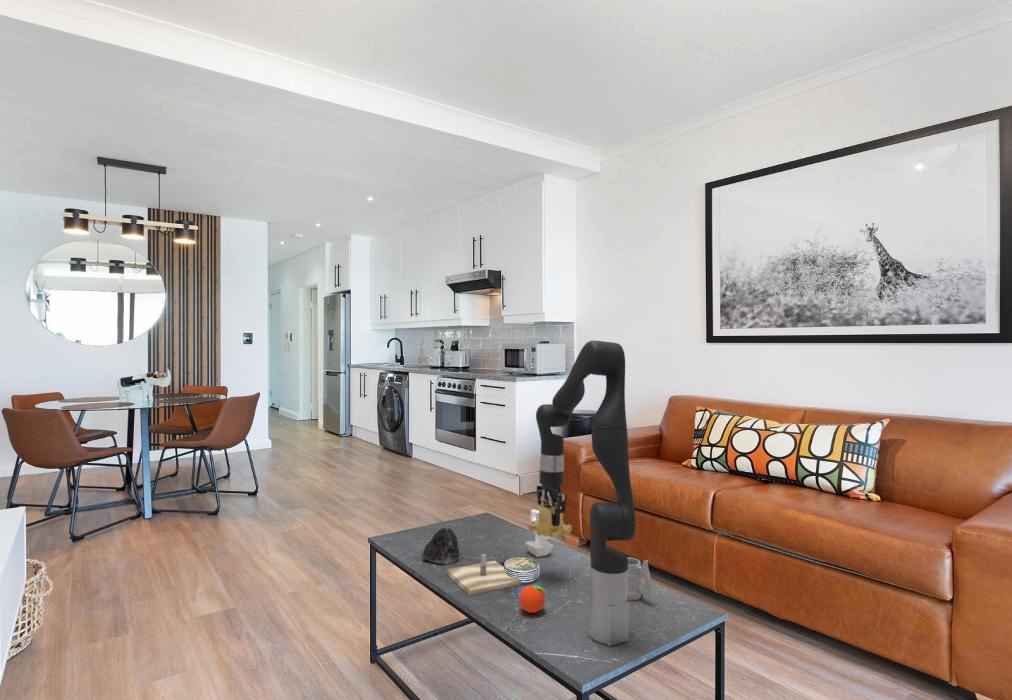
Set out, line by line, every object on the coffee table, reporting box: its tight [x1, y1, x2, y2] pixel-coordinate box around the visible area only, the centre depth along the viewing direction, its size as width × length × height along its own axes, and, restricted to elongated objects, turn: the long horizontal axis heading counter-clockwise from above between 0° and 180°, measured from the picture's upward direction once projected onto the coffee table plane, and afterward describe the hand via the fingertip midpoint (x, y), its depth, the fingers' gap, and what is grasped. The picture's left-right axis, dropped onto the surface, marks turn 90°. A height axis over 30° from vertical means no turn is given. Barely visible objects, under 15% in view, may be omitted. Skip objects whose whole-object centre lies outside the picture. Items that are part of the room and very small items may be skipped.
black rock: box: [422, 527, 460, 565], centre depth 192 cm, size 13×14×10 cm
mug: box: [626, 556, 653, 601], centre depth 165 cm, size 8×12×12 cm, turn 37°
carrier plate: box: [446, 553, 522, 596], centre depth 175 cm, size 17×17×8 cm
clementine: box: [519, 584, 549, 614], centre depth 155 cm, size 8×7×7 cm
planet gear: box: [528, 504, 573, 538], centre depth 177 cm, size 12×12×8 cm
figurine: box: [524, 509, 554, 558], centre depth 198 cm, size 7×9×15 cm
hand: (550, 522), depth 177 cm, fingers closed on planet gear, 5 cm apart
